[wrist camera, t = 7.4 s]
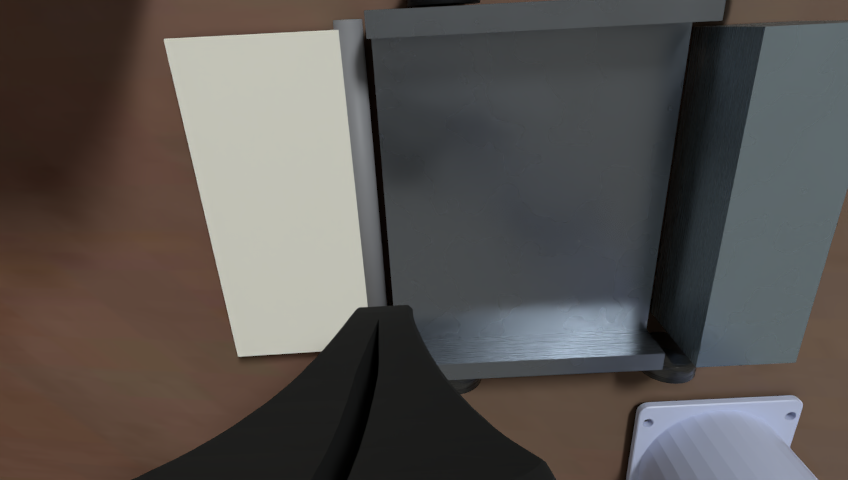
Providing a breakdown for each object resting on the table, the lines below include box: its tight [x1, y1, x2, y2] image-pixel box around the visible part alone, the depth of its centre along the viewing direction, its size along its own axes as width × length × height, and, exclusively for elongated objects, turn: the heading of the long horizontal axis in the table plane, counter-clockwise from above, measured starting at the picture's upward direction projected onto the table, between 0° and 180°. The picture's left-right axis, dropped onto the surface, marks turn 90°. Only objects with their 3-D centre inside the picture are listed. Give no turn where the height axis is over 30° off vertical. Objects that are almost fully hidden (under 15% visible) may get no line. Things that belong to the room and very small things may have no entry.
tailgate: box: [164, 19, 387, 357], centre depth 20 cm, size 14×1×7 cm
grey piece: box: [364, 0, 848, 394], centre depth 19 cm, size 16×16×4 cm
